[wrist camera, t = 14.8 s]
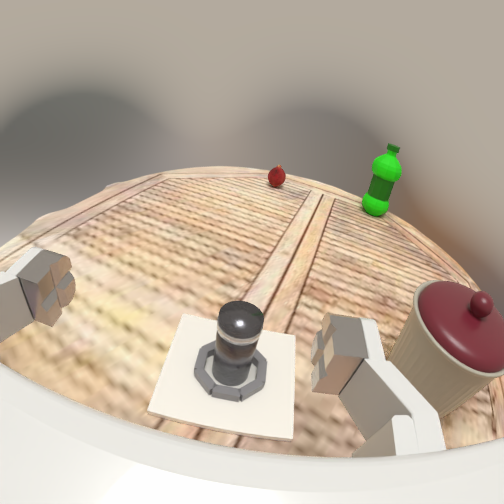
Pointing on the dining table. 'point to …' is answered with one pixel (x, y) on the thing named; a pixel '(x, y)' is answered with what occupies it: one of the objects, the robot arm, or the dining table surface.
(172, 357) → the mount board
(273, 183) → the onion
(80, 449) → the robot arm
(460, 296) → the canister
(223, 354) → the lens tube
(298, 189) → the dining table surface
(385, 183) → the plastic bottle
